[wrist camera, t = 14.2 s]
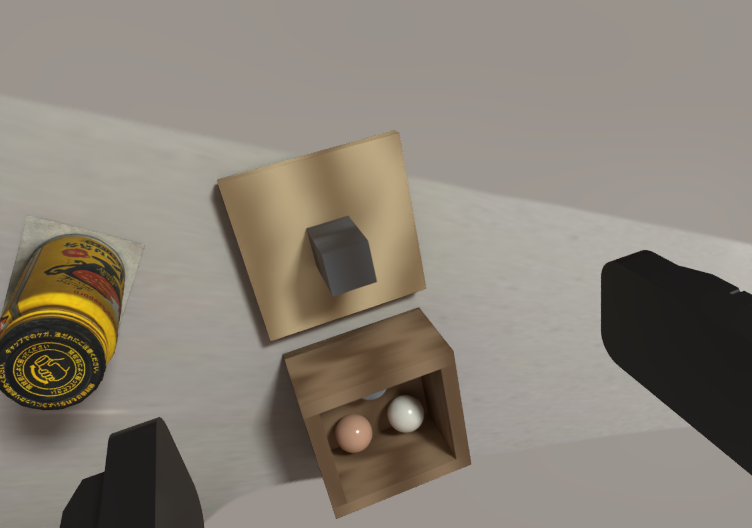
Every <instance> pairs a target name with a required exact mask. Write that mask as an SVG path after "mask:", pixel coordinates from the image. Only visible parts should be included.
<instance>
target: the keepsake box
mask: <svg viewBox="0 0 752 528" xmlns="http://www.w3.org/2000/svg"><path fill="white" fill-rule="evenodd" d="M283 356H284V359H285V362H286V366H287V369H288V372H289V375H290V378H291V382H292V385H293V388H294V391H295V394H296V397H297V401H298V404H299V407H300V410H301V413H302V416H303V419H304V422H305V425H306V428H307V431H308V434H309V437H310V440H311V444H312V447H313V450H314V453H315V456H316V459H317V462H318V465H319V468H320V471H321V474H322V477H323V480H324V483H325V486H326V489H327V492H328V495H329V498H330V501H331V504H332V508H333V511H334V514H335V517H336V519H338V518H340V517H343V516H345V515H347V514H350V513H352V512H355V511H358V510H360V509H362V508H365V507H367V506H370V505H372V504H375V503H377V502H380V501H382V500H385V499H387V498H389V497H392V496H394V495H397V494H399V493H402V492H404V491H407V490H409V489H412V488H414V487H417V486H419V485H422V484H424V483H427V482H429V481H431V480H434V479H436V478H439V477H441V476H443V475H446V474H449V473H451V472H454V471H456V470H458V469H461V468H463V467H466V466H468V465H471V460H470V453H469V447H468V441H467V434H466V428H465V421H464V415H463V409H462V402H461V396H460V390H459V383H458V377H457V370H456V364H455V358H454V351H453V350H452V348H451V347H450V346H449V345H448V343H447V342H446V341H445V340H444V338H443V337H442V336H441V335H440V333H439V332H438V331H437V330H436V328H435V327H434V326H433V324H432V323H431V322H430V321H429V319H428V318H427V317H426V316H425V314H424V313H423V312H422V311H421V309H420V308H416V309H413V310H410V311H407V312H404V313H401V314H398V315H396V316H393V317H390V318H387V319H384V320H381V321H378V322H375V323H372V324H369V325H366V326H364V327H361V328H358V329H355V330H352V331H349V332H346V333H343V334H340V335H337V336H335V337H332V338H329V339H326V340H323V341H320V342H317V343H314V344H311V345H308V346H305V347H303V348H300V349H297V350H294V351H291V352H288V353H285V354H283ZM385 389H387V390H386V391H385V393H384V394H383V395H382V396H381V397H379V398H377V399H374V400H364V399H362V398H363V397H366V396H369V395H371V394H374V393H377V392H379V391H382V390H385ZM401 395H411V396H413V397H415V398H417V399H418V400H419V401H420V403H421V404H422V406H423V409H424V419H423V422H422V424H421V425H420V427H419V428H417V429H416V430H415V431H412V432H408V433H404V432H400V431H397V430H396V429H394V428H393V427H392V425H391V424H390V422H389V420H388V416H387V411H388V407H389V405H390V403H391V402H392V400H393V399H395V398H396V397H398V396H401ZM350 414H358V415H361V416H363V417H365V418H366V419H367V420H368V421H369V423H370V425H371V427H372V439H371V442H370V444H369V445H368V446H367V448H365V449H364V450H363V451H361V452H357V453H350V452H347V451H345V450H343V449H342V448H341V447H340V446H339V445H338V443H337V441H336V438H335V429H336V426H337V424H338V422H339V421H340V420H341V419H342V418H343V417H345V416H347V415H350Z"/></svg>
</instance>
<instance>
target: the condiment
mask: <svg viewBox="0 0 752 528" xmlns="http://www.w3.org/2000/svg"><path fill="white" fill-rule="evenodd" d="M144 247H145V245H143V244H139V243H135V242H131V241H127V240H124V239H120V238H117V237H113V236H110V235H106V234H102V233H98V232H94V231H90V230H86V229H82V228H78V227H74V226H70V225H66V224H62V223H58V222H52V221H49V220H45V219H41V218H37V217H33V216H30V215H27V216H26V220H25V224H24V228H23V232H22V237H21V241H20V244H19V248H18V252H17V256H16V260H15V264H14V268H13V272H12V276H11V279H10V283H9V287H8V291H7V295H6V299H5V302H4V307H3V311H2V314H1V317H0V390H1V391H2V392H3V393H4V394H5V395H6V396H7V397H9V398H10V399H12V400H13V401H15V402H16V403H18V404H20V405H22V406H25V407H29V408H33V409H41V410H58V409H64V408H66V407H69V406H72V405H75V404H78V403H80V402H82V401H83V400H84V399H85V398H87V397H88V396H89V395H90V394H91V393H92V392H93V391H95V390H96V389H97V388H98V385H99V384H100V382H101V381H102V380H103V376H104V372H105V369H106V364H107V363H108V362H109V361H110V359H111V358H112V356H113V354H114V353H115V348H116V343H117V337H118V328H119V325H120V322H121V318H122V316H123V313H124V309H125V306H126V303H127V300H128V297H129V293H130V290H131V287H132V284H133V281H134V278H135V275H136V271H137V268H138V265H139V262H140V259H141V256H142V253H143V250H144Z"/></svg>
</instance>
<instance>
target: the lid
mask: <svg viewBox="0 0 752 528" xmlns="http://www.w3.org/2000/svg"><path fill="white" fill-rule="evenodd" d="M217 182H218V186H219V189H220V192H221V195H222V198H223V201H224V204H225V207H226V210H227V212H228V215H229V218H230V221H231V224H232V227H233V230H234V233H235V236H236V239H237V242H238V245H239V248H240V251H241V254H242V257H243V260H244V263H245V266H246V269H247V272H248V275H249V278H250V281H251V284H252V287H253V290H254V293H255V296H256V299H257V302H258V305H259V308H260V311H261V314H262V317H263V320H264V323H265V326H266V329H267V332H268V335H269V338H270V341H273V340H276V339H279V338H282V337H285V336H288V335H291V334H294V333H297V332H300V331H303V330H305V329H308V328H311V327H314V326H317V325H320V324H323V323H326V322H329V321H332V320H335V319H338V318H341V317H344V316H347V315H350V314H353V313H356V312H359V311H362V310H365V309H368V308H371V307H374V306H377V305H379V304H382V303H385V302H388V301H391V300H394V299H397V298H400V297H403V296H406V295H409V294H412V293H415V292H418V291H421V290H424V289H426V284H425V278H424V272H423V267H422V261H421V255H420V249H419V244H418V238H417V232H416V227H415V221H414V215H413V209H412V204H411V198H410V192H409V186H408V181H407V175H406V169H405V163H404V158H403V153H402V146H401V141H400V135H399V133H398V132H397V131H395V130H393V131H390V132H386V133H382V134H379V135H375V136H371V137H368V138H364V139H361V140H357V141H354V142H350V143H346V144H343V145H339V146H336V147H332V148H329V149H325V150H321V151H318V152H314V153H311V154H307V155H304V156H300V157H296V158H293V159H289V160H286V161H282V162H279V163H275V164H271V165H268V166H264V167H261V168H257V169H254V170H250V171H246V172H243V173H239V174H236V175H232V176H228V177H225V178H221V179H218V180H217Z"/></svg>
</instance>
